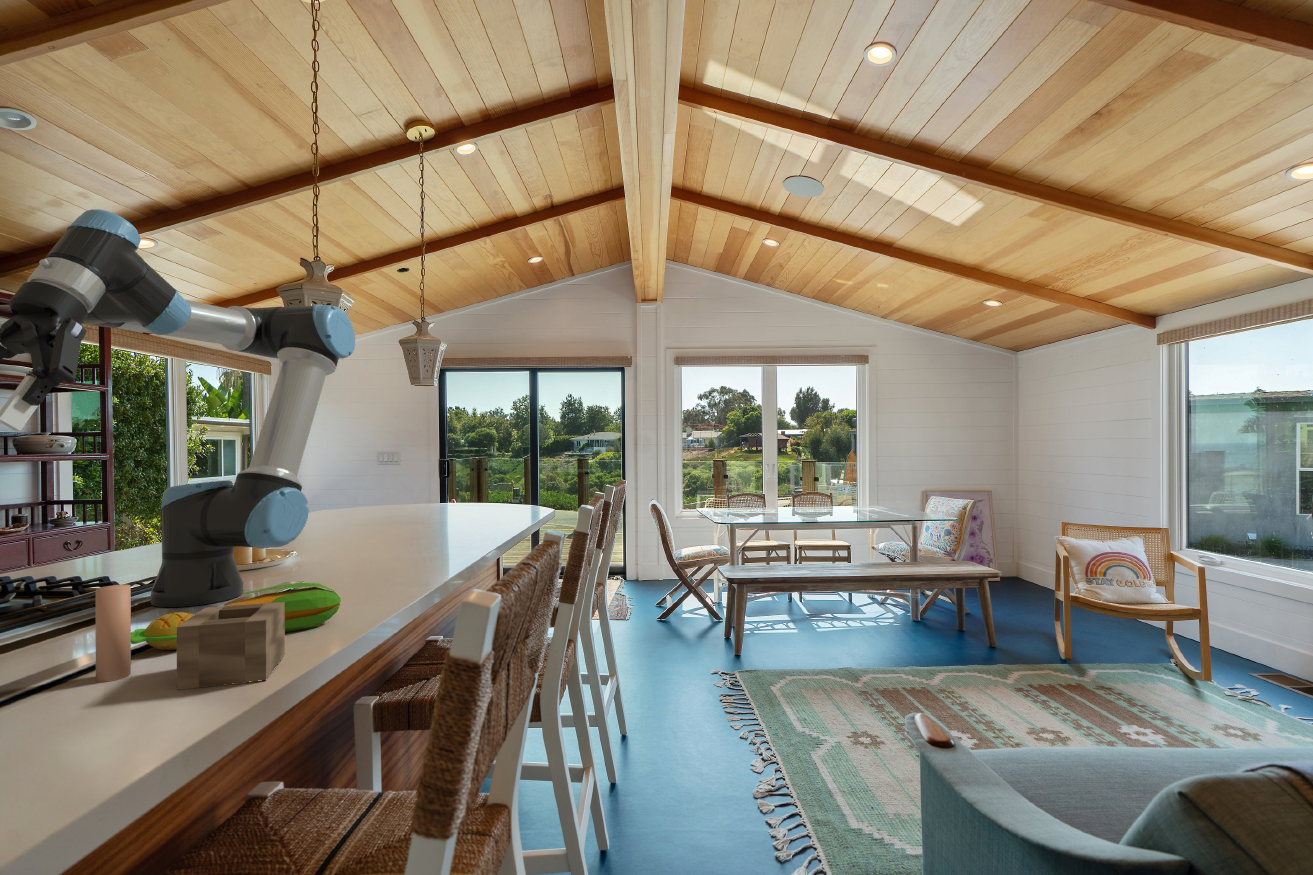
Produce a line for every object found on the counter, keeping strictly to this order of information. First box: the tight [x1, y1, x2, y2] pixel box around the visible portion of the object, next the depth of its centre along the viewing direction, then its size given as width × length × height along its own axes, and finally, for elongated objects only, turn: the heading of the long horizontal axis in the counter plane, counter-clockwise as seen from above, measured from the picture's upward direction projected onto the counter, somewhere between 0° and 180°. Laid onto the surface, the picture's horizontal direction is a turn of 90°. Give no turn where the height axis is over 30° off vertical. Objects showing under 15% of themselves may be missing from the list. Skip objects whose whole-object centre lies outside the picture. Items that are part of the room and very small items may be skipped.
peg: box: [95, 584, 132, 683], centre depth 86 cm, size 4×4×12 cm
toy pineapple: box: [131, 611, 195, 651], centre depth 98 cm, size 7×10×5 cm
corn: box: [225, 582, 342, 633], centre depth 107 cm, size 7×8×20 cm
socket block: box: [176, 602, 286, 691], centre depth 88 cm, size 10×10×8 cm
